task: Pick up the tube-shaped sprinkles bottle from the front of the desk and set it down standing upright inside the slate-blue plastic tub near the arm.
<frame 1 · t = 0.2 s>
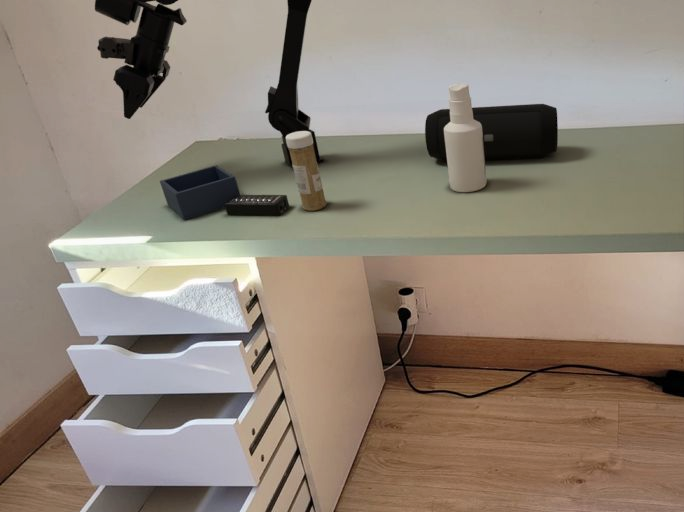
hand: (133, 112, 143), 15 cm above the table, tool tilted 30°, fingers open, 9 cm apart
portable speaker: (494, 158, 144), on the table
sprinkles bottle: (314, 207, 131), on the table
tub: (205, 204, 137), on the table
multiport hub: (258, 211, 132), on the table
spray bottle: (468, 187, 132), on the table
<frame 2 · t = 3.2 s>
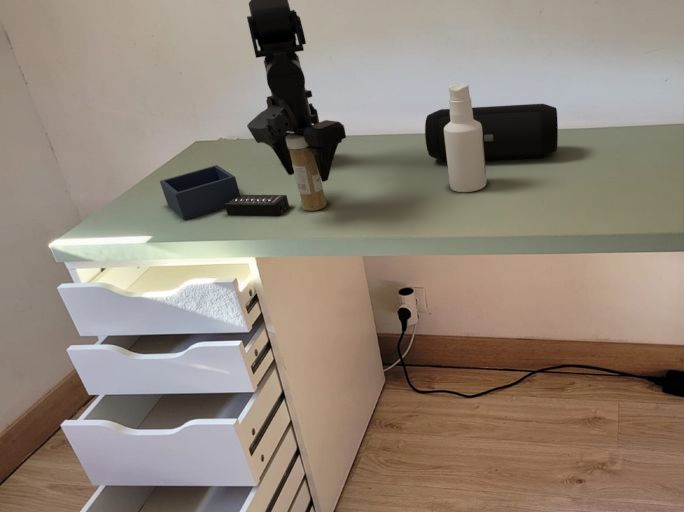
hand: (307, 177, 127), 6 cm above the table, tool pointing down
sprinkles bottle: (314, 208, 131), on the table, touching gripper
everything else where it was.
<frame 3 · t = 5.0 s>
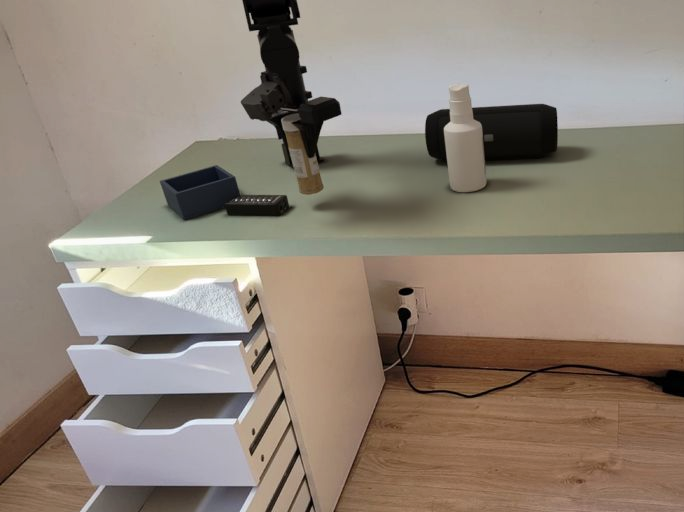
hand: (302, 155, 125), 10 cm above the table, tool pointing down, fingers closed on sprinkles bottle, 4 cm apart
sprinkles bottle: (311, 191, 129), point 3 cm above the table, touching gripper
everything else where it was.
when the fingers open (7 cm above the table, at t = 9.4 s): sprinkles bottle stays where it is, resting on tub.
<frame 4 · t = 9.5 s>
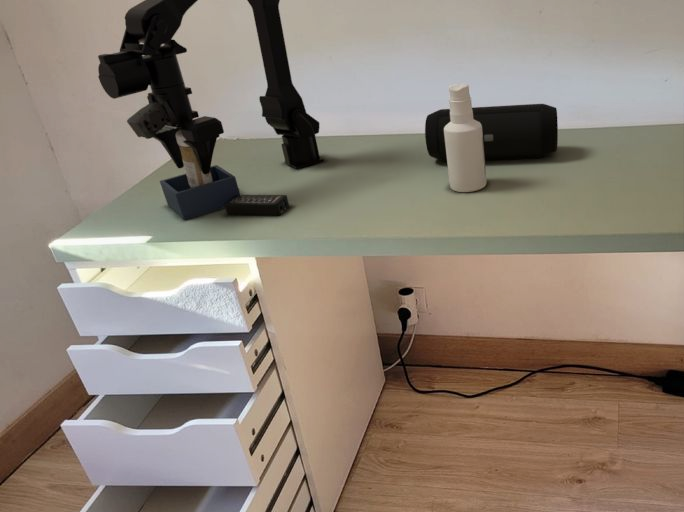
hand: (193, 170, 134), 7 cm above the table, tool pointing down, fingers open, 8 cm apart
sprinkles bottle: (204, 199, 137), point 1 cm above the table, touching gripper, tub
everything else where it was.
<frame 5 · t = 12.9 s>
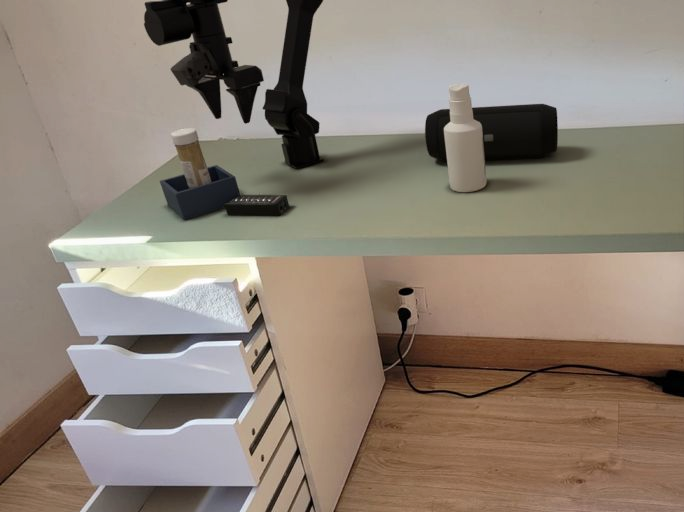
hand: (232, 120, 137), 13 cm above the table, tool pointing down, fingers open, 9 cm apart
sprinkles bottle: (205, 201, 137), resting on tub
everything else where it was.
at the end: sprinkles bottle inside the target area in the tub (0.4 cm from its centre), point 0.4 cm above the tub's base; sprinkles bottle tilted 0°; the gripper is holding nothing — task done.
